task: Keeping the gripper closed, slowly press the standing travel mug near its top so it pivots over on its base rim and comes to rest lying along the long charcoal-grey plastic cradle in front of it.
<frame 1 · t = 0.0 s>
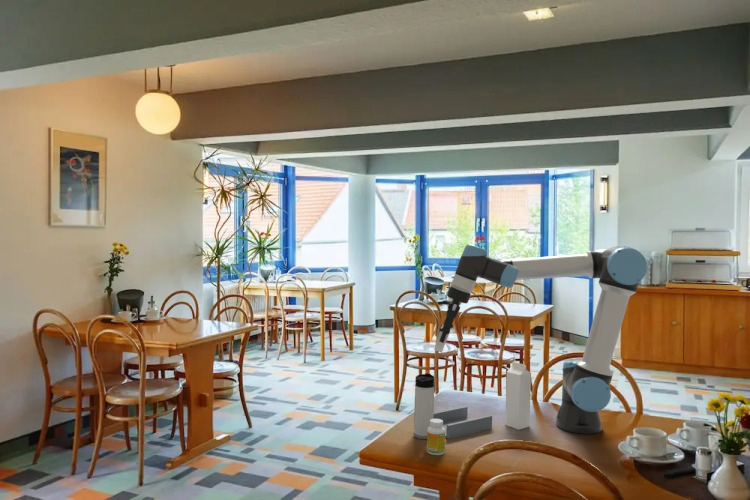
hand: (438, 347, 195), 28 cm above the table, tool tilted 20°, fingers open, 13 cm apart
supplement bottle: (435, 452, 174), on the table
milk: (517, 426, 201), on the table
travel mug: (423, 436, 188), on the table
cradle: (457, 428, 197), on the table
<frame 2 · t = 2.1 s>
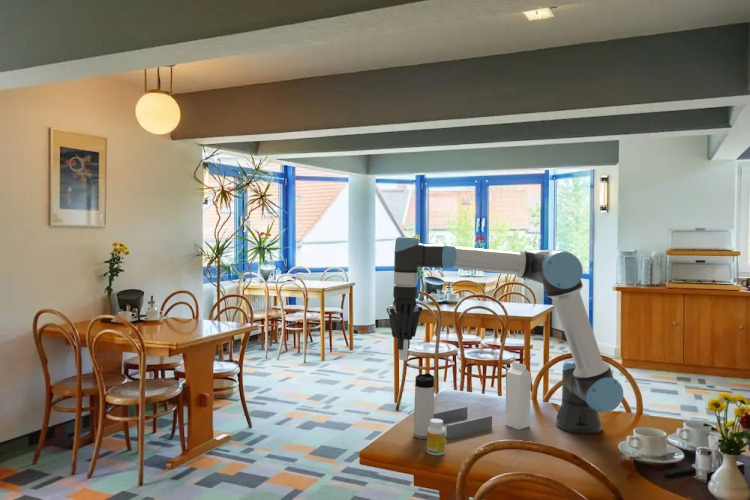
hand: (403, 359, 183), 26 cm above the table, tool pointing down, fingers closed
nothing on the table moved.
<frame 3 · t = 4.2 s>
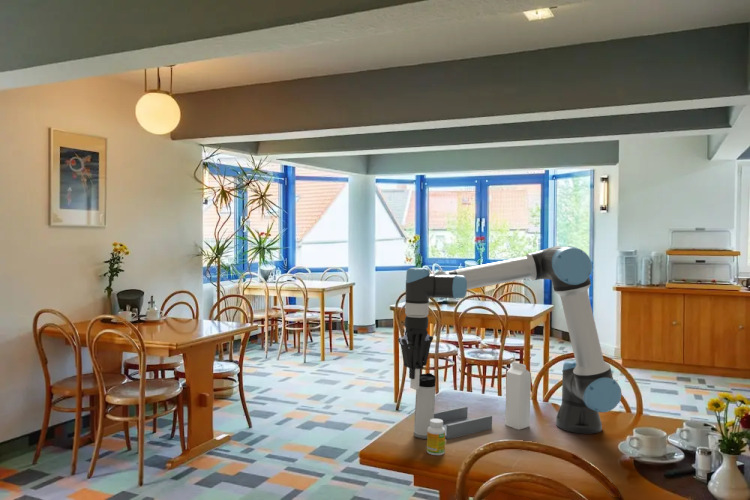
hand: (414, 388, 185), 16 cm above the table, tool pointing down, fingers closed
nothing on the table moved.
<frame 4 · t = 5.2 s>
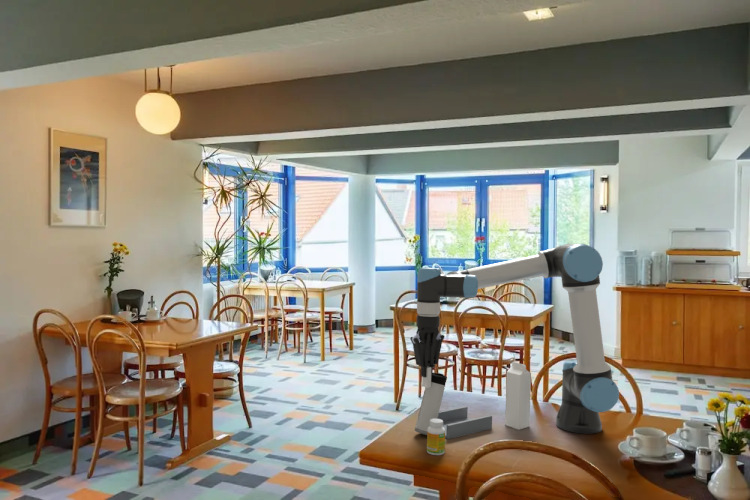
hand: (426, 386, 188), 16 cm above the table, tool pointing down, fingers closed
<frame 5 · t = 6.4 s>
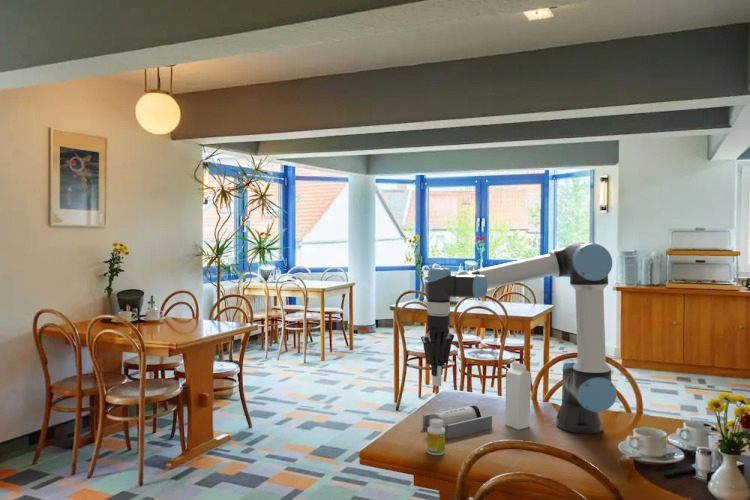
hand: (436, 385, 191), 16 cm above the table, tool pointing down, fingers closed
travel mug: (433, 424, 189), point 4 cm above the table, touching cradle
everything else where it was.
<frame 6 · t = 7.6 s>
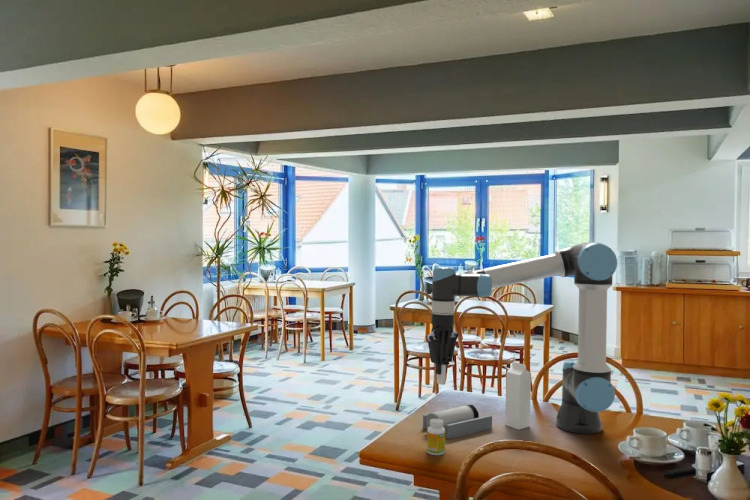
hand: (441, 383, 192), 16 cm above the table, tool pointing down, fingers closed
travel mug: (430, 423, 190), point 4 cm above the table, touching cradle
everything else where it was.
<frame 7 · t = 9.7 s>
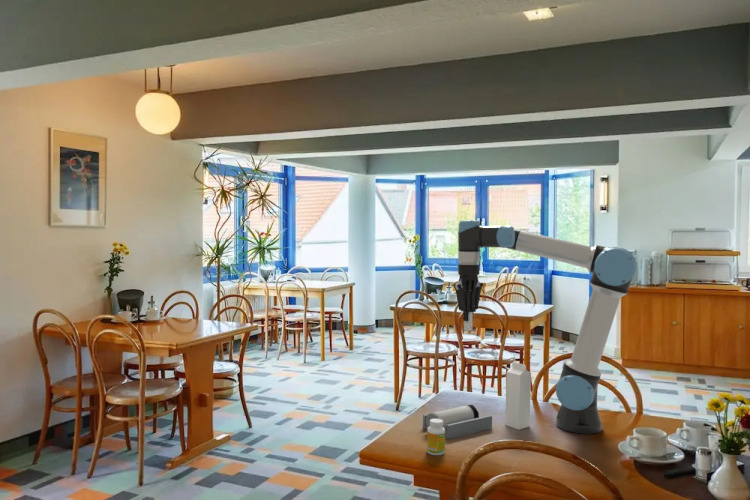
hand: (468, 330, 204), 33 cm above the table, tool pointing down, fingers closed
nothing on the table moved.
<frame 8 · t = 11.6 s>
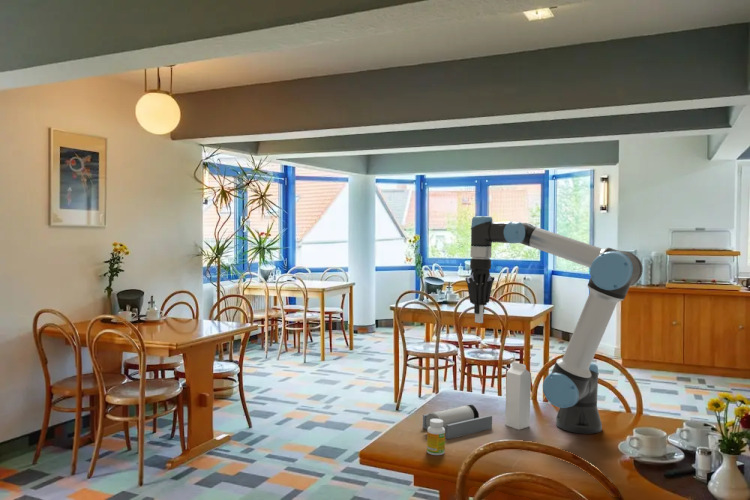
hand: (478, 322, 211), 34 cm above the table, tool pointing down, fingers closed
nothing on the table moved.
at the end: travel mug tilted 90°; travel mug touching cradle; travel mug inside the target area (1.8 cm from its centre), point 3.8 cm above the table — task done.
